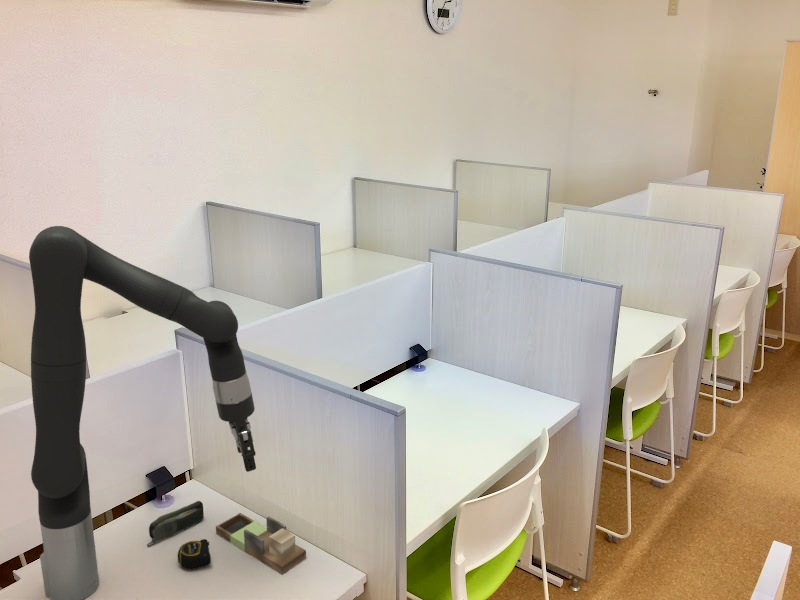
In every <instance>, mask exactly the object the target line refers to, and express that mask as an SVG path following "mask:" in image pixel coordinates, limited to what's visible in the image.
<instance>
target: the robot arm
mask: <svg viewBox="0 0 800 600" xmlns="http://www.w3.org/2000/svg"><path fill="white" fill-rule="evenodd" d="M28 253H29V255H28V259H29V266H30V271H31V279H32V285H33V295H34V296H33V297H34V320H33V327H32V332H31V333H32V334H31V335H32V336H31V343H30V344H31V346H30V381H31V395H32V406H33V407H32V409H33V414H34V422H35V441H34V442H35V444H34V445H35V446H34V452H33V453H34V455H33V461H32V465H31V470H30V477H31V481H32V485H33V486H34V487H35V489H36V490H37V497H38V498H37V502H38V504H37V505H38V507H37V508H38V517H39V524H40V531H41V538H42V546H43V547H42V548H43V552H42V553H41V554H40V556H39V560H40V566H41V573H42V580H43V587H44V594H45V597H50V598H51V599H52V600H84V599H86V598H89V597H90V596H91V595H92V594H94V593H95V592H96V590H97V589H98V587H99V584H100V578H99V576H100V574H99V569H98V561H97V560H98V559H97V551H96V542H95V533H94V525H93V518H92V509H91V508H92V507H91V493H90V492H91V491H90V483H89V482H90V480H89V473H88V464H87V463H88V462H87V455H86V451H85V449H84V446H83V445H82V444H81V438H80V430H81V428H80V427H81V426H80V425H81V417H82V412H83V404H84V401H85V400H84V397H85V390H86V381H87V377H86V376H87V345H86V335H85V329H84V324H83V319H82V312H81V311H82V310H81V309H82V307H81V306H82V305H81V303H82V296H83V295H82V293H83V285H84V280H87V281H89V282H92V283H95V284H97V285H100V286H102V287H104V288H106V289H108V290H110V291H111V292H114V293H115V294H117V295H119V296H120V297H122V298H124V299H125V300H126V301H129V302H130V303H132V304H133V305H135V306H137V307H138V308H141V309H143V310H145V311H147V312H149V313H151V314H153V315H156V316H158V317H161V318H163V319H165V320H167V321H171V322H174V323H176V324H178V325H181V326H182V327H184V328H185V329H186V330H188V331H190V332H192V333H194V334H195V335H197V336H199V337H201V338H202V339H203V342H204V346H205V348H206V352H207V357H208V358H207V359H208V360H207V361H208V367H209V370H210V375H211V380H212V389H213V391H212V392H213V394H214V398H215V404H216V408H217V414H218V417H219V419H220V420H221V421H223V422H226V423H227V422H228V426H229V429H230V431H231V434H232V436H233V438H234V440H235V445H236V449H237V452H238V453H239V454H240V455H241V457H242V460H243V466H244V470H245V471H246V472H247V473H249V472H252V471H255V470H256V469H257V466H256V461H255V456H256V451H255V446H254V443H253V442H254V439H253V435H252V430H251V429H252V426H251V423H250V421H249V419H248V418H249V417H250V416H252V415H253V414H254V412H255V402H254V398H253V393H252V388H251V383H250V378H249V376H248V374H247V369H246V364H245V359H244V356H243V355H244V354H243V352H242V349H241V347H240V344H239V343H238V338H237V333H238V330H239V322H238V318H237V316H236V314H235V313H234V311H233V310H232V308H231V307H230V305H228V304H227V303H226V302H224V301H220V300H211V301H207V300H204V299H203V298H201V297H199V296H197V295H196V294H195V293H194V292H193V291H191V289H189V288H187V287H185V286H182V285H180V284H177V283H175V282H174V281H171V280H168V279H166V278H164V277H162V276H159V275H157V274H155V273H153V272H150V271H147V270H145V269H144V268H141V267H139V266H136V265H134V264H132V263H130V262H127V261H126V260H124V259H121V258H119V257H117V256H116V255H114V254H112V253H110V252H108V251H107V250H105V249H104V248H102V247H100V246H98V244H96V243H94V242H93V241H91V240H89V239H88V238H86V237H85V236H83V235H82V234H80V233H78V232H77V231H76V230H74V229H73V228H70V227H67V226H64V225H54V226H49V227H46V228H44V229H42V230H41V231H39V232H38V234H37V235H36V236H35V238H34V240H33V241H32V244H31V246H30V248H29V252H28Z"/></svg>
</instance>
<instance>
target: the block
mask: <svg viewBox="0 0 800 600" xmlns="http://www.w3.org/2000/svg"><path fill="white" fill-rule="evenodd" d="M295 544H296V535H295V534H294V533H291V532H290V531H289V530H287V529H286V530H285V529H283V528H282V529H281V530H279V531H277V532H276V533H274V534H272V535H271V536H269V552H270V553H272V554H273V555H275V556H277V557H278V558H280V559H284V558H285V557H287V556H288V555H290V554H291V553H293V552H294V551H295Z"/></svg>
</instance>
